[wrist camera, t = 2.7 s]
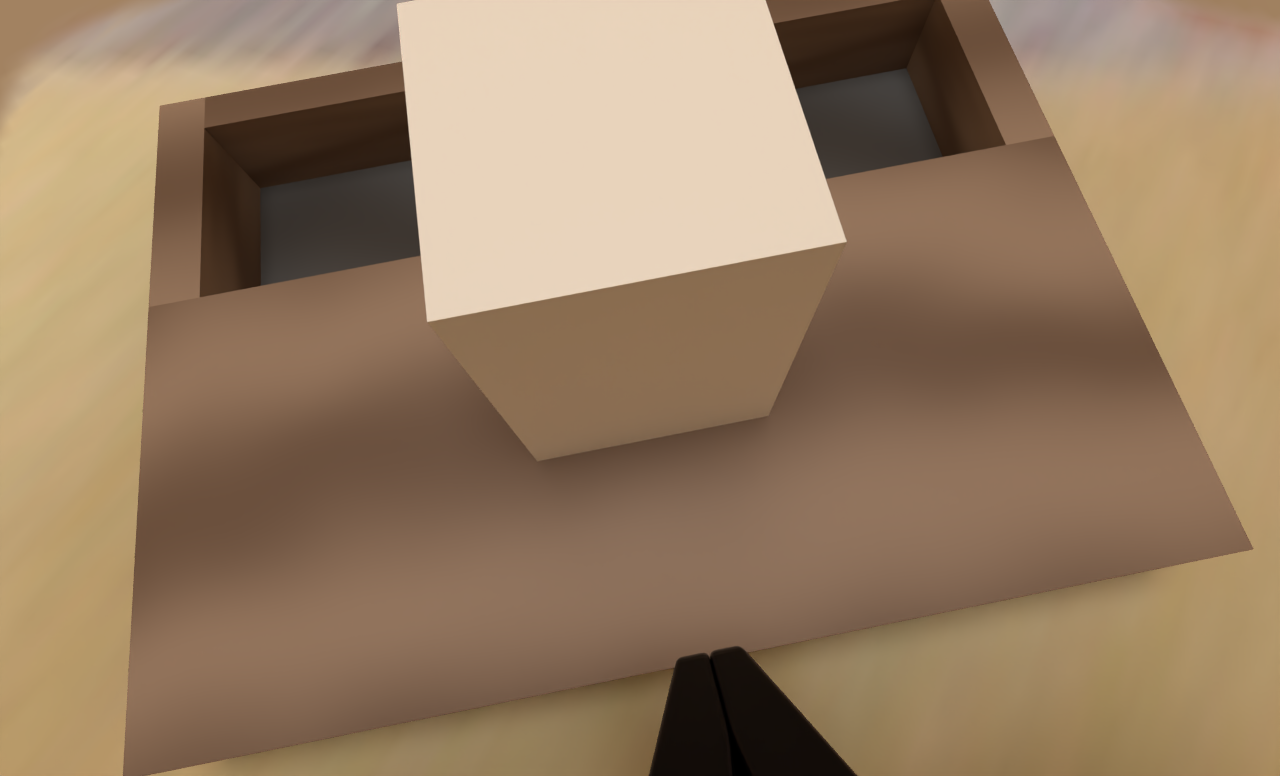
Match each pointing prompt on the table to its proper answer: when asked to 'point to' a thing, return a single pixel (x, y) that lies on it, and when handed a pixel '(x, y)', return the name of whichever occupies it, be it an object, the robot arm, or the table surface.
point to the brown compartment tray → (640, 471)
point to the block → (614, 210)
